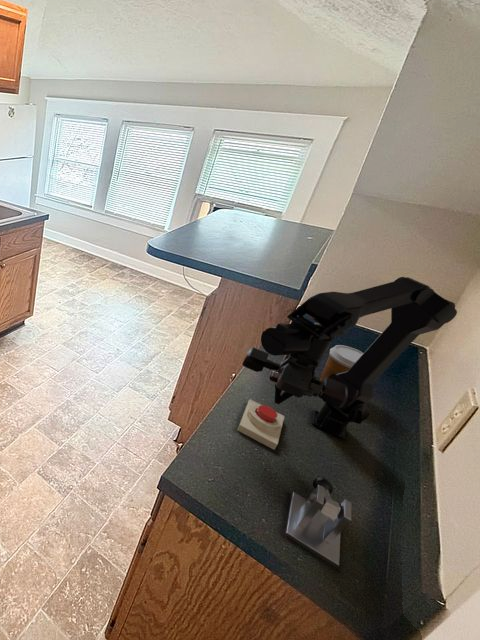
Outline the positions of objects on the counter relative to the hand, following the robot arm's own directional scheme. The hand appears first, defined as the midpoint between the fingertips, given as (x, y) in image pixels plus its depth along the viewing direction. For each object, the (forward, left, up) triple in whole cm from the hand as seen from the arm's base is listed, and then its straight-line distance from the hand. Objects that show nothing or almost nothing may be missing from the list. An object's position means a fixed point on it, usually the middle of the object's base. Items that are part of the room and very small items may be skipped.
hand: (276, 402), depth 89 cm
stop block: (-2, 0, -10) cm, 11 cm away
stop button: (-2, 0, -7) cm, 7 cm away
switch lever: (+15, +12, -7) cm, 21 cm away
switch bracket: (+20, +12, -10) cm, 25 cm away
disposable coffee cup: (-36, +13, -11) cm, 40 cm away
